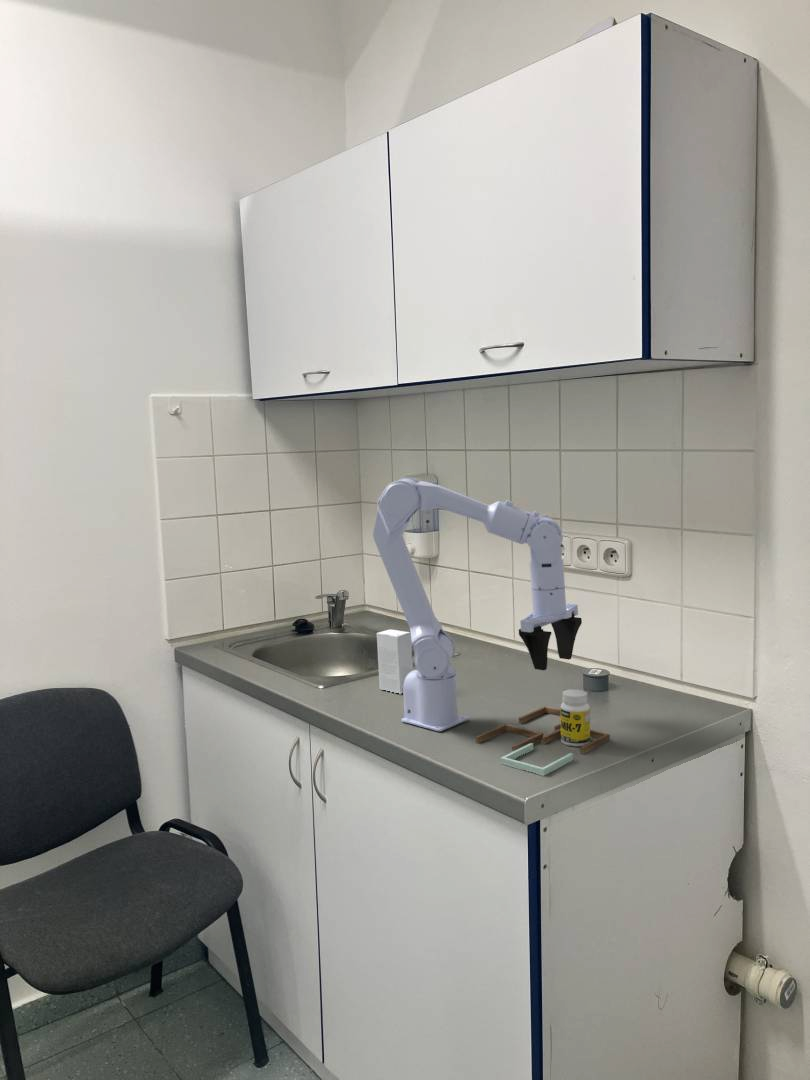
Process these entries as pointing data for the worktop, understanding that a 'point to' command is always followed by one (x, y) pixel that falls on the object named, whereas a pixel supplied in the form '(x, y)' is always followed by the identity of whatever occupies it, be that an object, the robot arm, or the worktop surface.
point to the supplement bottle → (575, 718)
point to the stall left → (540, 712)
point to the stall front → (601, 739)
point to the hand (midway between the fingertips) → (553, 663)
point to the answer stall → (543, 771)
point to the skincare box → (394, 659)
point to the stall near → (533, 734)
